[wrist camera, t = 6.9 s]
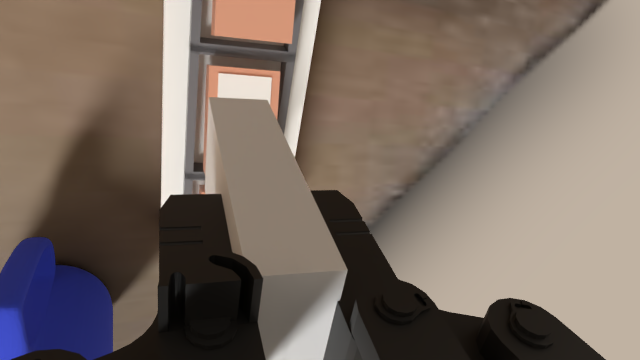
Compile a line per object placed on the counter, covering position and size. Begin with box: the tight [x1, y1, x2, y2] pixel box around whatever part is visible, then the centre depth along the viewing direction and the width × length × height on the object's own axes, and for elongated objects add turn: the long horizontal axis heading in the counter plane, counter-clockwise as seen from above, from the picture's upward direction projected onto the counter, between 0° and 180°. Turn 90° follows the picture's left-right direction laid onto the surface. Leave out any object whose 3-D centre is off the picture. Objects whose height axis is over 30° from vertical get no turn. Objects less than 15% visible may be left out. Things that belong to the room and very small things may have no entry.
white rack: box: [161, 0, 321, 207], centre depth 25 cm, size 21×7×6 cm, turn 170°
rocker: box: [203, 65, 280, 173], centre depth 22 cm, size 5×3×2 cm, turn 169°
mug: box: [0, 237, 113, 360], centre depth 27 cm, size 8×12×10 cm
